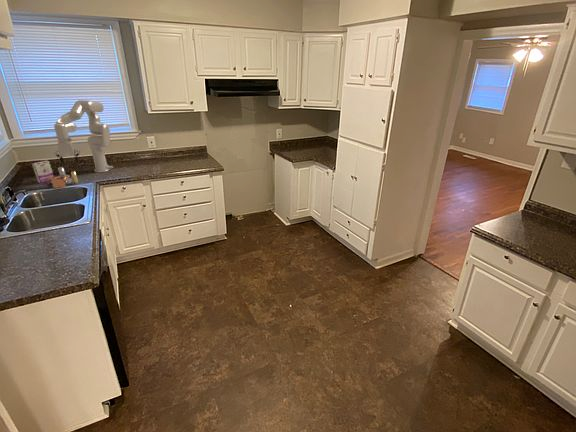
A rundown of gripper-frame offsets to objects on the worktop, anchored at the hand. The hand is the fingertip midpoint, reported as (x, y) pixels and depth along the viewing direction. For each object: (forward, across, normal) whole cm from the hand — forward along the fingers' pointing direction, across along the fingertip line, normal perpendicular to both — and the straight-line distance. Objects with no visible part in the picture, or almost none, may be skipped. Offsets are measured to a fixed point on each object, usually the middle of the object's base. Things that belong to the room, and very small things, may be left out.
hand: (69, 162), depth 247 cm
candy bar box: (+18, +24, -14) cm, 33 cm away
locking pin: (+18, 0, -1) cm, 18 cm away
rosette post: (+18, +10, -3) cm, 21 cm away
